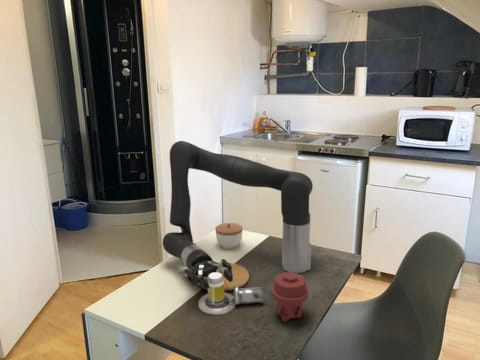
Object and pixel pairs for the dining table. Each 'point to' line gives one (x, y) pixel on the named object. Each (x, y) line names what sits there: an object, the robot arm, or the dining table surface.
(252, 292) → the flange fitting
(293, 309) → the mechanical component
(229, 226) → the lidded jar
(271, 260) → the dining table surface
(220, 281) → the supplement bottle
